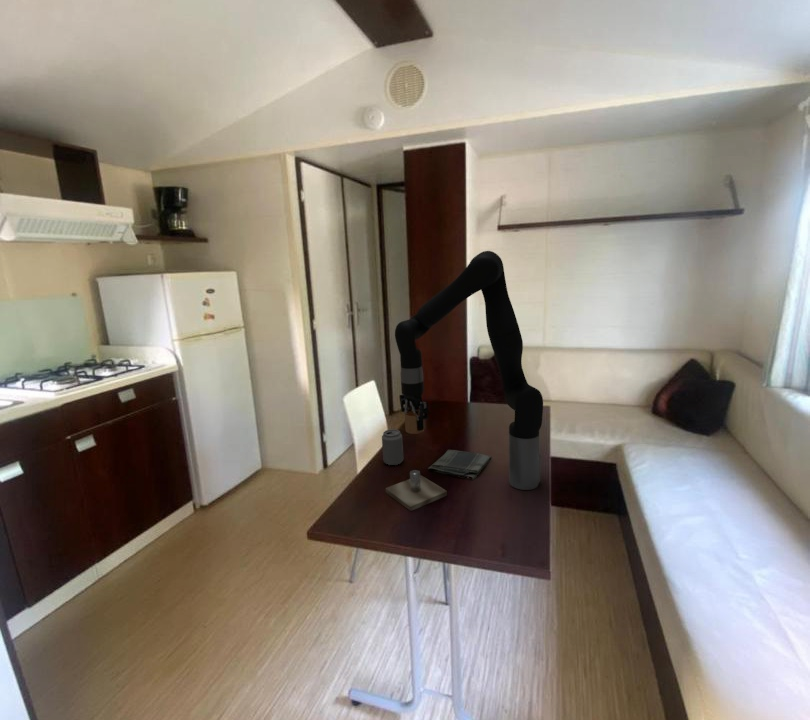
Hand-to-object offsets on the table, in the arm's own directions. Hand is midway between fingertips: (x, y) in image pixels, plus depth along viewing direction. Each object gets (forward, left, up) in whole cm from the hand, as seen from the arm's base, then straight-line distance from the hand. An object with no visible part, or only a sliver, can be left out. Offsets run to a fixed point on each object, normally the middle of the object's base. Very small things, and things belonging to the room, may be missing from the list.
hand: (414, 427), depth 145 cm
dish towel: (-16, +4, -18) cm, 25 cm away
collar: (0, 0, -1) cm, 1 cm away
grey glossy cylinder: (+8, +10, -16) cm, 21 cm away
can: (+1, -14, -18) cm, 22 cm away
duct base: (+8, +10, -17) cm, 22 cm away
